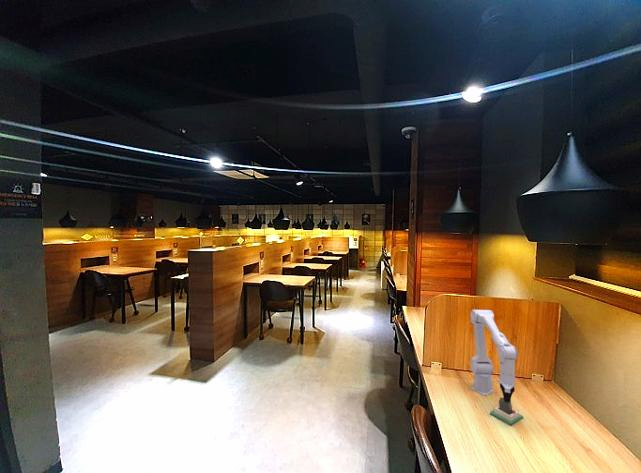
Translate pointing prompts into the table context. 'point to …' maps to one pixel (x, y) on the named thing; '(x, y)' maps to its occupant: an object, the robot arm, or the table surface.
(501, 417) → the board
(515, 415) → the frame
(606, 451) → the table surface
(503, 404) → the plug
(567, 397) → the table surface
